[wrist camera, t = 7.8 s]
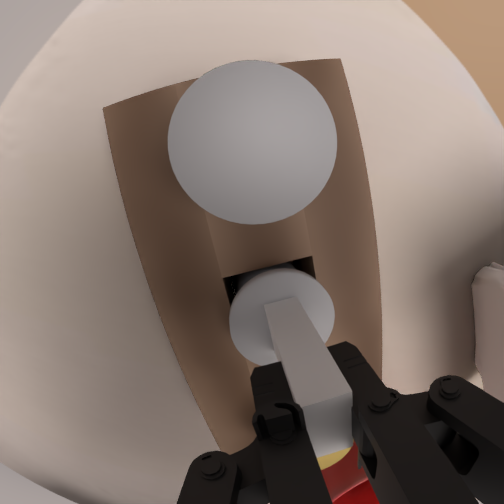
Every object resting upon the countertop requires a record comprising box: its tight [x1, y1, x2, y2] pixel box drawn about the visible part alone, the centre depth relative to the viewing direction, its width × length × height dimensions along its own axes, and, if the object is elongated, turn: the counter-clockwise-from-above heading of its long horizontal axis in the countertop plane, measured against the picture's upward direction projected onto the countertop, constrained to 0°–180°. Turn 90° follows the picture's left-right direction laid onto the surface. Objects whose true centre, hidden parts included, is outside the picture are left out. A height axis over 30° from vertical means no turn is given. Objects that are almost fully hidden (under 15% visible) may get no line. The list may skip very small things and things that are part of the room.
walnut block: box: [103, 59, 382, 455], centre depth 19 cm, size 12×24×6 cm, turn 13°
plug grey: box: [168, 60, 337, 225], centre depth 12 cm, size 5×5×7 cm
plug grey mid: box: [229, 261, 335, 366], centre depth 17 cm, size 5×5×7 cm
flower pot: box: [321, 441, 380, 504], centre depth 23 cm, size 11×11×10 cm
